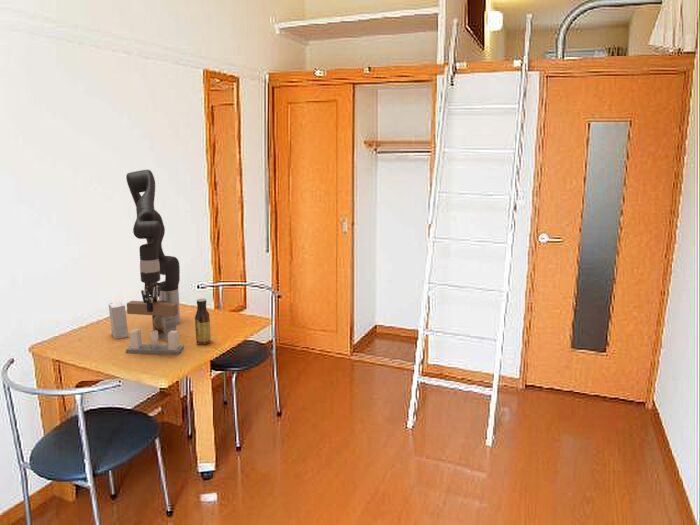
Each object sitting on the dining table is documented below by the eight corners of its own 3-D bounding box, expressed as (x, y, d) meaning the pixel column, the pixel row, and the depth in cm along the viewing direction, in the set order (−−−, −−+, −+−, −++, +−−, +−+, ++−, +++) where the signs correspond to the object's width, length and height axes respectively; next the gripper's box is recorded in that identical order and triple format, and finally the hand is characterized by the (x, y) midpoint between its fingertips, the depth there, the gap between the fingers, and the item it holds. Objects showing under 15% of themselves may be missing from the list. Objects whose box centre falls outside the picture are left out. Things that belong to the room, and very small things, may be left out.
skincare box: (128, 337, 240) (126, 305, 237) (114, 339, 237) (111, 307, 234) (124, 331, 247) (122, 300, 244) (110, 334, 244) (108, 302, 241)
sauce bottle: (197, 340, 238) (195, 297, 234) (211, 340, 239) (210, 297, 235) (194, 345, 232) (192, 301, 228) (209, 345, 232) (207, 301, 228)
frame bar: (132, 310, 225) (131, 300, 224) (177, 313, 223) (177, 303, 222) (127, 313, 221) (126, 303, 220) (173, 316, 219) (173, 306, 218)
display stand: (133, 346, 229) (132, 327, 227) (183, 348, 228) (183, 329, 226) (125, 352, 222) (124, 333, 221) (178, 354, 221) (177, 335, 220)
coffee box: (152, 337, 241) (150, 302, 237) (164, 333, 246) (162, 299, 243) (165, 341, 236) (163, 306, 233) (177, 337, 241) (175, 303, 238)
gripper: (148, 265, 225) (150, 304, 229) (133, 273, 211) (136, 315, 215) (165, 266, 225) (168, 305, 228) (151, 274, 211) (154, 315, 214)
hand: (152, 309), depth 222 cm, fingers closed on frame bar, 4 cm apart
